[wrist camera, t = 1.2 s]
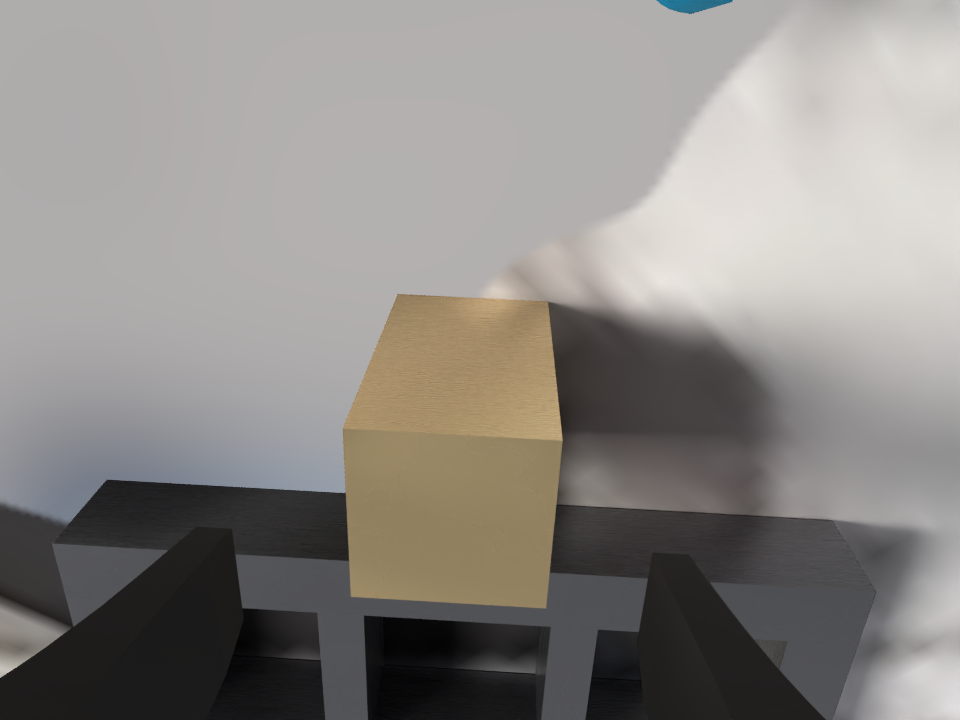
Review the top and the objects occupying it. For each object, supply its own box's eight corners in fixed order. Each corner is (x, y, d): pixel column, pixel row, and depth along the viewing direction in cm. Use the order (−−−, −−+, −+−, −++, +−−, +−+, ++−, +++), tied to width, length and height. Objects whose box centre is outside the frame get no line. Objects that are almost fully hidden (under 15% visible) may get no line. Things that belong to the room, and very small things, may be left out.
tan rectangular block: (547, 301, 20) (562, 440, 14) (537, 431, 22) (546, 608, 15) (397, 293, 20) (342, 428, 14) (399, 423, 22) (350, 596, 15)
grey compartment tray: (832, 521, 22) (876, 591, 20) (771, 728, 26) (800, 811, 24) (106, 479, 23) (51, 543, 20) (151, 689, 27) (110, 766, 24)
